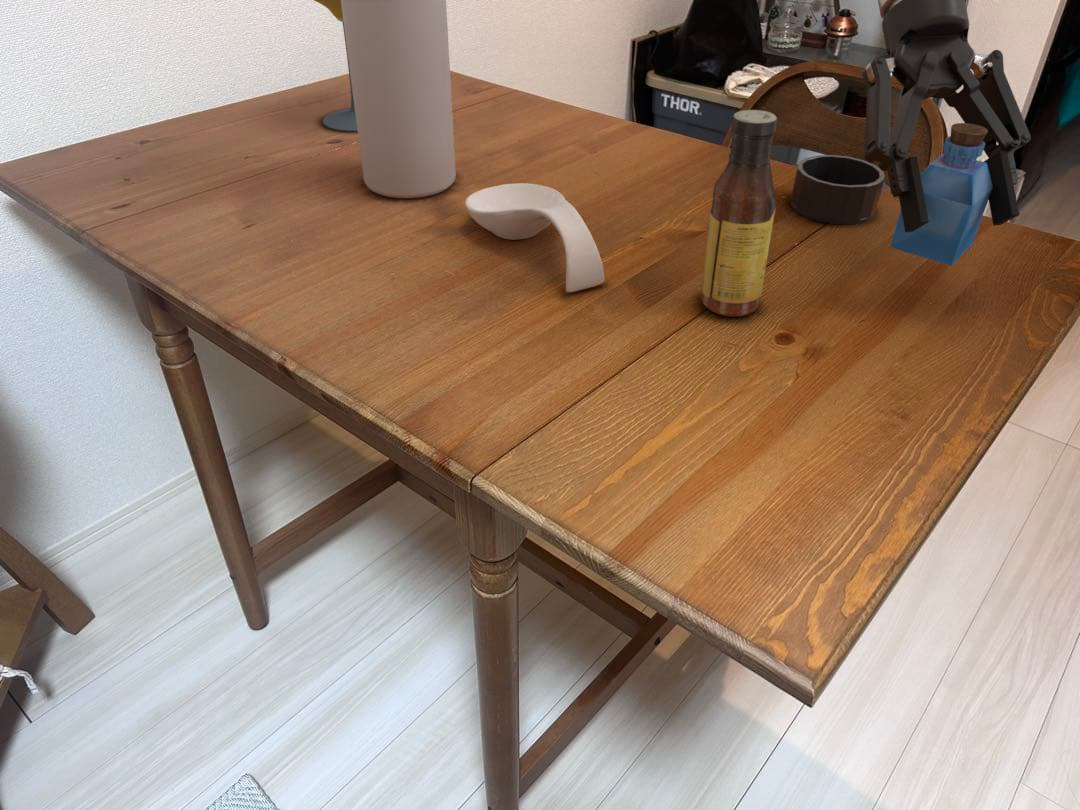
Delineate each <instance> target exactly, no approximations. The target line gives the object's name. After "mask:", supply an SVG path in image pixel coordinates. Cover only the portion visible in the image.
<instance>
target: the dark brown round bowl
mask: <svg viewBox="0 0 1080 810" xmlns="http://www.w3.org/2000/svg"><path fill="white" fill-rule="evenodd" d="M794 176H795V177H794V181H793V185H792V190H791V194H790V202H789V203H790V206H791V208H792V210H794V211H795V212H796V213H798V214H799V215H801V216H803V217H805V218H806V219H810V220H813V221H815V222H820V223H824V224H831V225H842V226H843V225H856V224H862V223H865V222H868V221H869V220H871V219H872V218H873V217H874V215H875V213H876V211H877V207H878V204H879V200H880V197H881V193H882V190H883V186H884V182H885V180H886V179H885V178H886V177H885V171H883V170H881V169H880V168H879V166H877V164H874V163H872V162H868V161H867V160H863V159H860V158H856V157H851V156H848V155H847V156H846V155H836V154H823V155H822V154H819V155H818V154H817V155H812V156H808V157H804V158H802V159H801V160H800V161H798V163H797V166H796V172H795V174H794Z"/></svg>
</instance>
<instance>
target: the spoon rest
mask: <svg viewBox="0 0 1080 810" xmlns="http://www.w3.org/2000/svg"><path fill="white" fill-rule="evenodd" d="M464 206H465V209H466V211H467V213H468V214H469V216H470V217H471V218H472V219H473V220H474V221H475V222H476V223H477V224H478V225H479V226H480V227H482V228H484V229H486V230H487V231H489V232H491V233H492V234H494V235H495V236H496V237H499V238H501V239H505V240H513V241H514V240H515V241H516V240H525V239H530V238H533V237H535V236H537V235H538V234H539V233H540V232H541V231H543V230H545V229H546V228H548V227H549V226H550V225H551V224H552V225H553V226H554V227H555V229H556V230H557V232H558V233H559V236H560V237H561V240H562V243H563V247H564V252H565V264H566V265H565V268H566V269H565V272H566V273H565V292H566V293H574V292H578V291H582V290H586V289H590V288H594V287H597V286H600V285H602V284H603V283H604V282H605V271H604V264H603V261H602V258H601V254H600V252H599V248H598V246H597V244H596V242H595V240H594V238H593V236H592V233H591V231H590V230H589V228H588V227H587V224H586V223H585V221H584V219H583V218H582V216H581V215H580V213H579V212H578V210H577V209H576V208H575V207H574V206H573V204H571V203H570V202H569V201H567V200H566V197H565V196H564V195H563V194H562V193H561V192H559V191H558V190H556V189H554V188H552V187H550V186H546V185H541V184H536V183H525V182H521V183H519V182H518V183H505V184H499V185H494V186H491V187H486V188H485V187H484V188H482V189H480V190H477V191H475V192H472V193H471V194H470V195H469V196H467V197H466V199H465V201H464Z"/></svg>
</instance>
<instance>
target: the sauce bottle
mask: <svg viewBox="0 0 1080 810" xmlns="http://www.w3.org/2000/svg"><path fill="white" fill-rule="evenodd" d="M730 128H731V132H732V138H731V145H730V153H729V154H728V162H727V164H726V166H725V168H724V169H723V172H722V173H721V174H720V175H719V177H718V178H717V180H715V183H714V185H713V193H712V201H711V202H712V203H711V208H710V211H709V219H708V230H707V238H706V246H705V255H704V263H703V272H702V282H701V291H702V292H701V297H700V298H701V302H702V304H703V305H704V307H706V308H707V309H708V310H709V311H710V312H712V313H713V314H714V313H715V314H717V315H720V316H724V317H732V318H733V317H734V318H735V317H736V318H737V317H738V318H740V317H745V316H748V315H749V314H752V313H754V312H755V311H756V310H757V308H758V306H759V303H760V298H761V296H762V293H763V289H764V282H765V278H766V277H765V276H766V271H767V266H768V265H767V264H768V259H769V254H770V253H769V252H770V246H771V239H772V235H773V226H774V220H775V215H776V208H777V197H776V192H775V186H774V180H773V179H774V178H773V173H772V172H773V171H772V167H771V166H772V165H771V153H772V152H771V151H772V147H773V145H772V144H773V138H774V135H775V134H776V132H777V129H778V117H777V116H776V115H775V113H772V112H770V111H767V110H760V109H743V110H740V111H737V112H734V114H733V116H732V121H731V127H730Z"/></svg>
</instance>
